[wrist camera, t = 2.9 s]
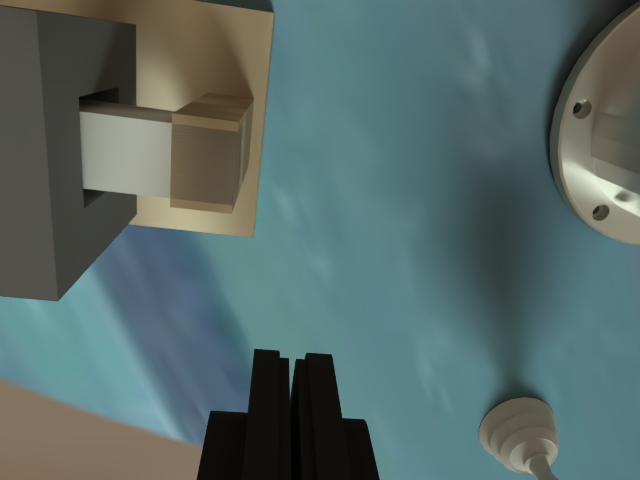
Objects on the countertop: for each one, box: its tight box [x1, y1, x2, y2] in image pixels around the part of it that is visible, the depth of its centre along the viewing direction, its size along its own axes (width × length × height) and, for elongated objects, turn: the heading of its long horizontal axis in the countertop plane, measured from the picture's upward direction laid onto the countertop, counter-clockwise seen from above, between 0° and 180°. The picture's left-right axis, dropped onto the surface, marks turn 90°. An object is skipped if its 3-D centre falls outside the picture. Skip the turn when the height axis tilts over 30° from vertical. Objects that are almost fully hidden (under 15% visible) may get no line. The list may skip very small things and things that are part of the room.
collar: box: [0, 5, 137, 301], centre depth 16 cm, size 3×8×8 cm, turn 172°
